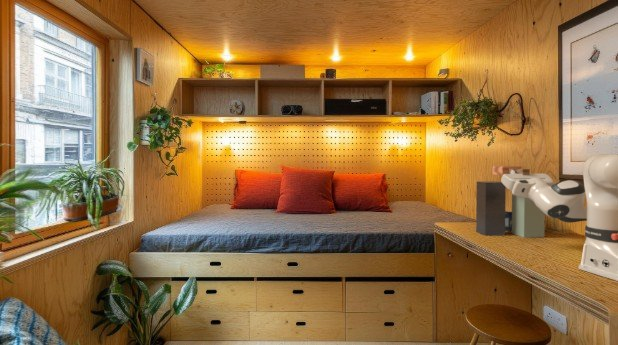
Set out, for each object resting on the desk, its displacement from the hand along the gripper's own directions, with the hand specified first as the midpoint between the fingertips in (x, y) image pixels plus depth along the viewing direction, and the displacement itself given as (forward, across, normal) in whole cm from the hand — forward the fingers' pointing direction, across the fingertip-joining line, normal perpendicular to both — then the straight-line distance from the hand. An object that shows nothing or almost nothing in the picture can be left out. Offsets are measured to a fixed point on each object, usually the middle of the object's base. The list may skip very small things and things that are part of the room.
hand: (517, 171), depth 159 cm
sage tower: (-6, -13, +33) cm, 36 cm away
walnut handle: (+2, 0, +4) cm, 4 cm away
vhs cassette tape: (+5, -8, +40) cm, 42 cm away
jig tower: (-2, +2, +36) cm, 36 cm away
